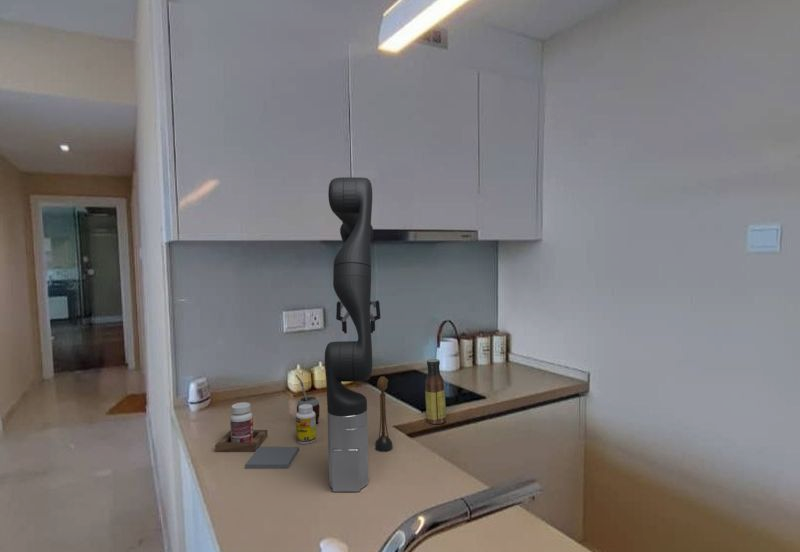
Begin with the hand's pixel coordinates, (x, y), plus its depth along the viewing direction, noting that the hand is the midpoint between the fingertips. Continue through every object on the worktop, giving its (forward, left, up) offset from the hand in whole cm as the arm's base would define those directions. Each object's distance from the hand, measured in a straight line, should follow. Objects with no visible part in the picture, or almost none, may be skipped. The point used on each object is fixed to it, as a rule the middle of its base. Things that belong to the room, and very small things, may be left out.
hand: (358, 332), depth 152 cm
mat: (-30, +20, -28) cm, 46 cm away
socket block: (-20, +32, -28) cm, 47 cm away
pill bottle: (-20, +32, -29) cm, 47 cm away
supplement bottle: (-18, +14, -29) cm, 36 cm away
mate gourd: (-4, +17, -29) cm, 33 cm away
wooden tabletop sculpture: (-23, -9, -29) cm, 38 cm away
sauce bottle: (-3, -24, -29) cm, 38 cm away
